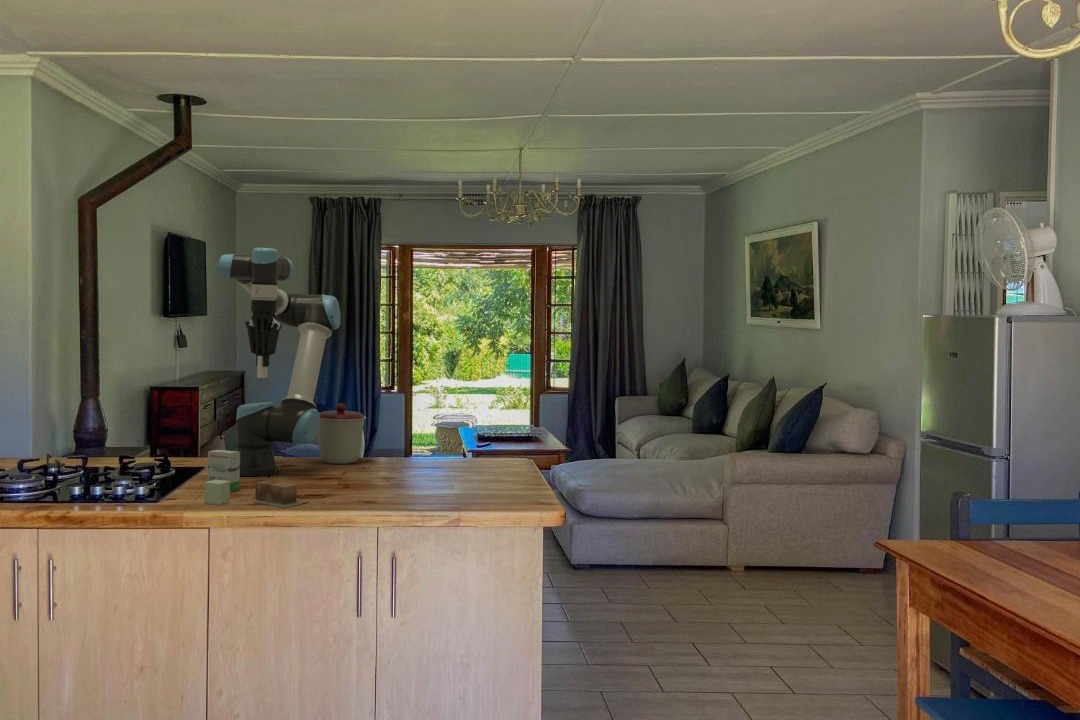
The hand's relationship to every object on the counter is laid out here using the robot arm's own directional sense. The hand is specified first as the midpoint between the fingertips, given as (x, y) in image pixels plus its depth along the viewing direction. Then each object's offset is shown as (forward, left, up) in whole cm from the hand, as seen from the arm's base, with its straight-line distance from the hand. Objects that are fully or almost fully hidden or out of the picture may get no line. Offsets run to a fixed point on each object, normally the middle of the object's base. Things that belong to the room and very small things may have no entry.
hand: (262, 377), depth 311 cm
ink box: (-8, -7, -35) cm, 36 cm away
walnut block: (+10, -10, -32) cm, 35 cm away
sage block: (+4, -21, -35) cm, 41 cm away
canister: (-15, +55, -35) cm, 67 cm away
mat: (+18, -10, -34) cm, 40 cm away
